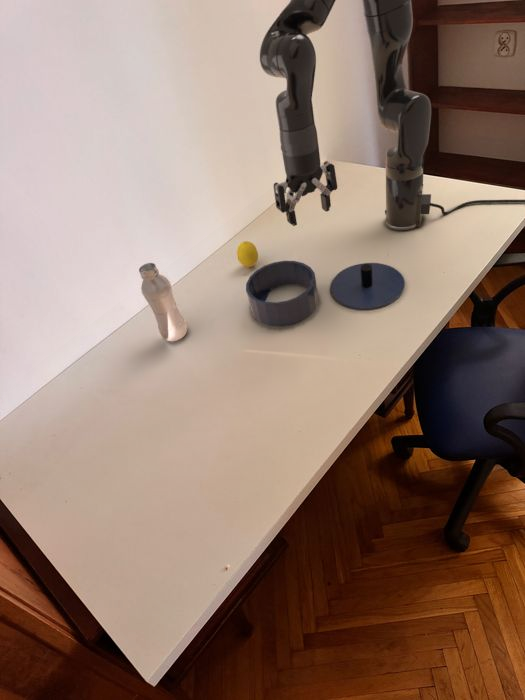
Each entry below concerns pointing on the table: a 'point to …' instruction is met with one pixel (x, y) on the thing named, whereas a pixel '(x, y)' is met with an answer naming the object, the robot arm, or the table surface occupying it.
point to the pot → (284, 310)
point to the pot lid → (367, 286)
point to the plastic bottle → (162, 303)
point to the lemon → (247, 254)
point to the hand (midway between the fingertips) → (309, 217)
